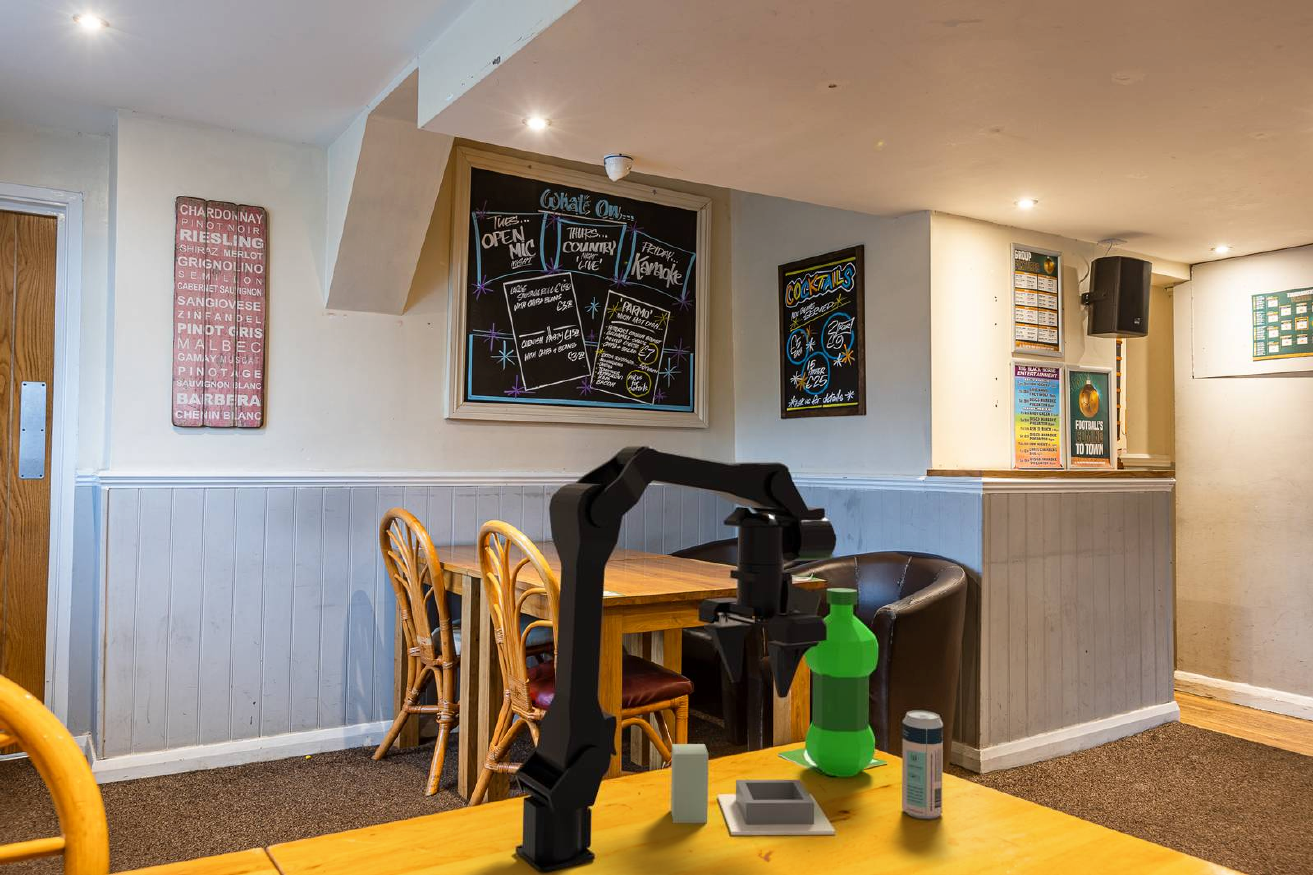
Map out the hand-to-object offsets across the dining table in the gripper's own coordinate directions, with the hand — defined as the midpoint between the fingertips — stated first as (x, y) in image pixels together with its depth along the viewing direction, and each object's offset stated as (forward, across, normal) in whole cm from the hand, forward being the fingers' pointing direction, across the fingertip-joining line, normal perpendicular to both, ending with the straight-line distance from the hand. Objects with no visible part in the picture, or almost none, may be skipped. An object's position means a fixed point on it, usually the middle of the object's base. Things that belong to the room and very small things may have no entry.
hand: (758, 689), depth 115 cm
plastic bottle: (+15, +5, -19) cm, 25 cm away
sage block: (+14, +2, +9) cm, 17 cm away
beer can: (+15, -12, -16) cm, 25 cm away
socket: (+14, -3, 0) cm, 15 cm away
